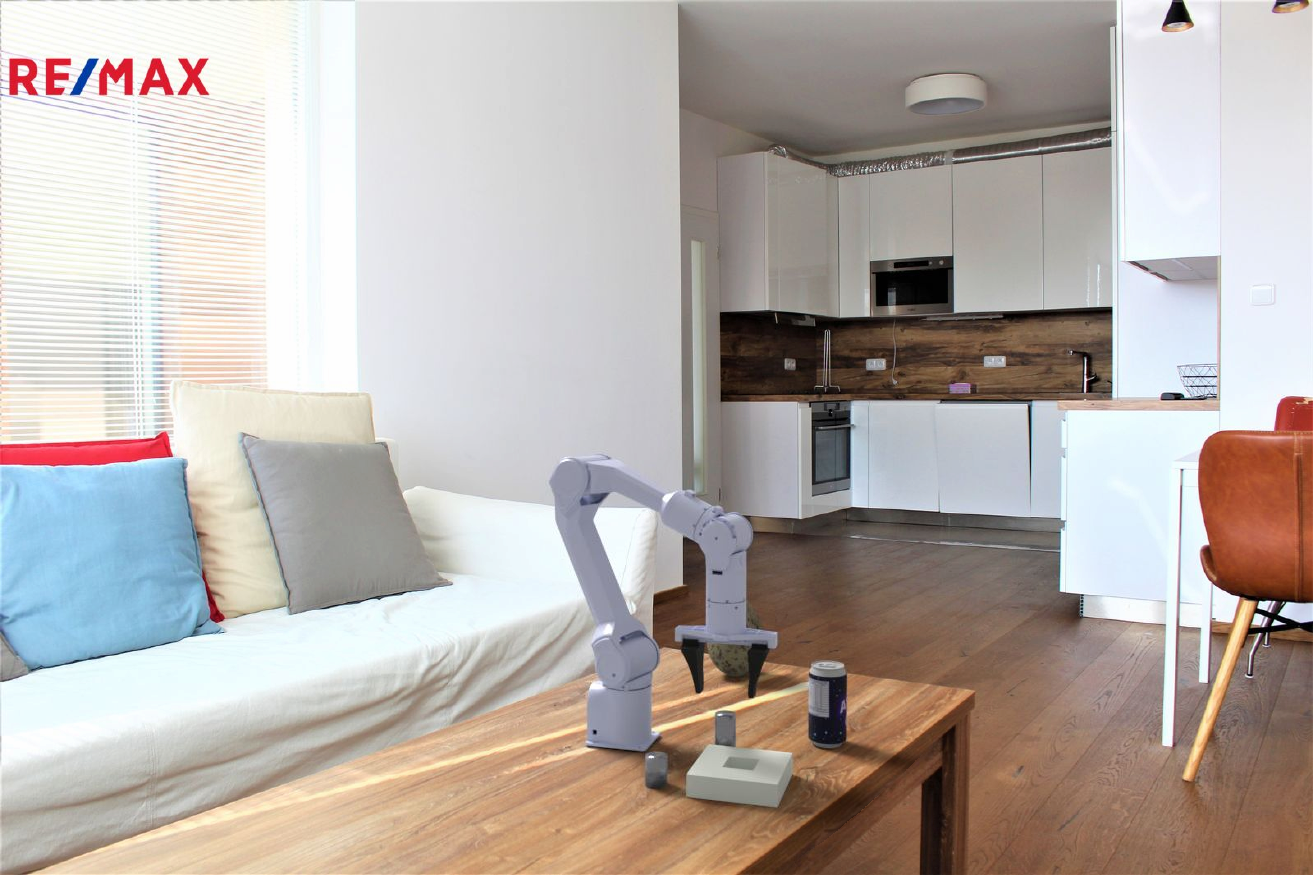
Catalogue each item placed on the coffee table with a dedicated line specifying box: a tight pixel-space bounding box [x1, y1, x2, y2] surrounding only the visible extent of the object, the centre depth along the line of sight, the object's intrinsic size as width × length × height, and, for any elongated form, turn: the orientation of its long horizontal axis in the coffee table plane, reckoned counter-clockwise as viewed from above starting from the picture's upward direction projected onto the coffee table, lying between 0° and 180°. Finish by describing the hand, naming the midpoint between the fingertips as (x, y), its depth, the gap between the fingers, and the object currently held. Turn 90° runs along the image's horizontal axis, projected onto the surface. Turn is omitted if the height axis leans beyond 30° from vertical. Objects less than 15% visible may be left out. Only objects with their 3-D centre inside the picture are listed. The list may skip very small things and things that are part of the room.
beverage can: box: [807, 660, 848, 749], centre depth 155 cm, size 6×6×12 cm
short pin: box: [644, 751, 668, 790], centre depth 139 cm, size 3×3×4 cm
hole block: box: [685, 744, 794, 808], centre depth 139 cm, size 12×12×3 cm
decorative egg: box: [706, 599, 765, 678], centre depth 192 cm, size 11×11×15 cm
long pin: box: [714, 709, 737, 747], centre depth 147 cm, size 3×3×7 cm
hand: (725, 694), depth 147 cm, fingers open, 7 cm apart
